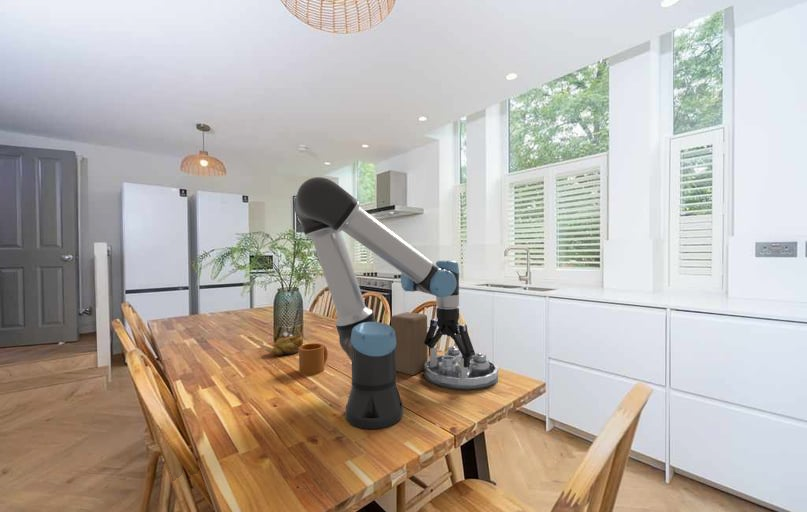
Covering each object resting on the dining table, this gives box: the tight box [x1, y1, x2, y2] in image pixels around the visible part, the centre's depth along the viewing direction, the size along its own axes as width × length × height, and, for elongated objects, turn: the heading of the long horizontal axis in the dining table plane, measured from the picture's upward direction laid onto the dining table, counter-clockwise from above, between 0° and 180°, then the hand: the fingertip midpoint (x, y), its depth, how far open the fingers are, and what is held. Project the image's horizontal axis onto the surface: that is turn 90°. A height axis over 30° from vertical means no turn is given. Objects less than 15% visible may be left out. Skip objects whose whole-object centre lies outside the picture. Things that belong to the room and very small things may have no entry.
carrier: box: [423, 346, 499, 391], centre depth 116 cm, size 25×25×8 cm
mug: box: [298, 342, 329, 376], centre depth 123 cm, size 9×12×9 cm
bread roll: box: [271, 334, 304, 357], centre depth 144 cm, size 13×10×8 cm
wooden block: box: [390, 311, 429, 376], centre depth 122 cm, size 10×10×20 cm
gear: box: [438, 356, 459, 378], centre depth 111 cm, size 7×7×6 cm
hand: (448, 371), depth 111 cm, fingers open, 12 cm apart
